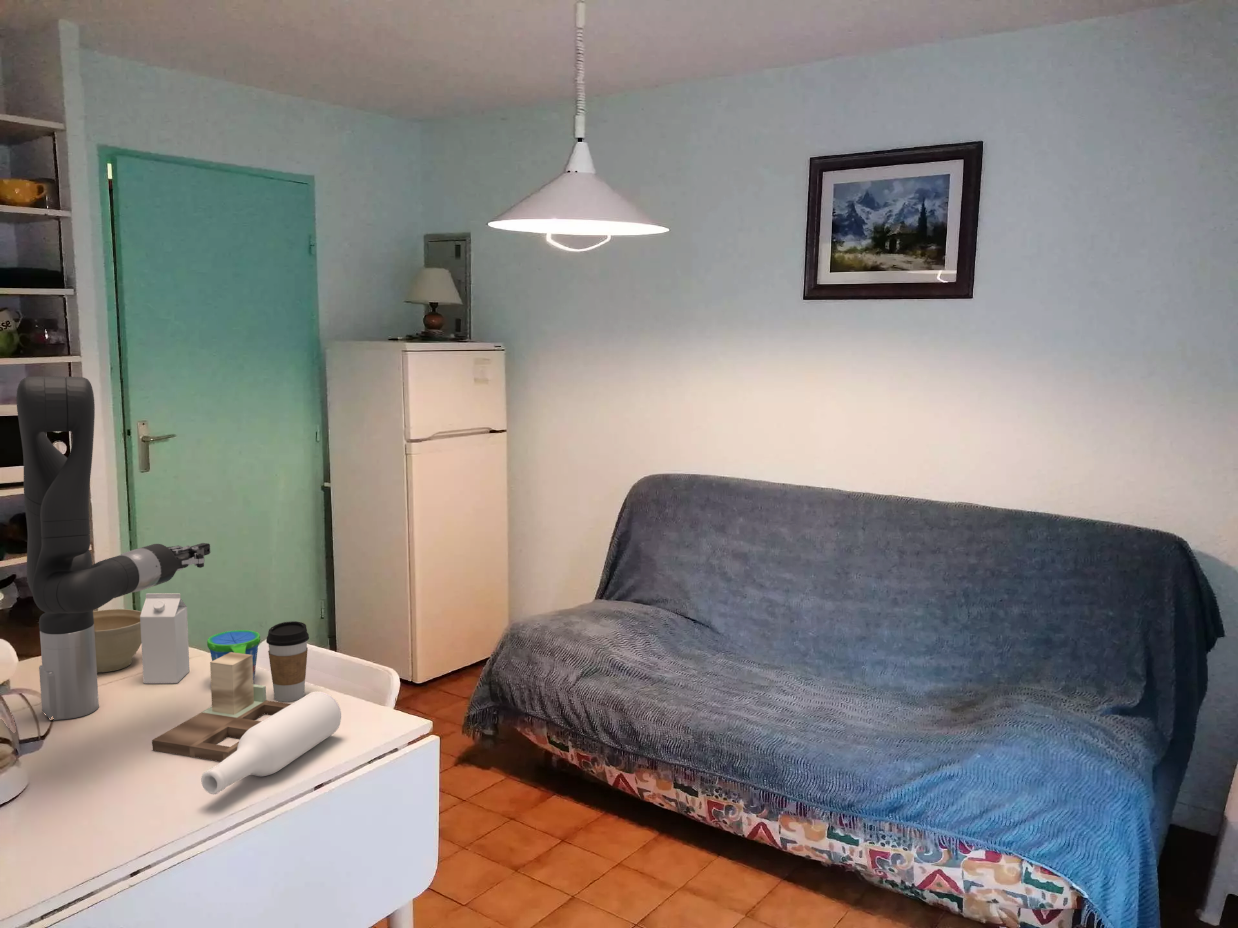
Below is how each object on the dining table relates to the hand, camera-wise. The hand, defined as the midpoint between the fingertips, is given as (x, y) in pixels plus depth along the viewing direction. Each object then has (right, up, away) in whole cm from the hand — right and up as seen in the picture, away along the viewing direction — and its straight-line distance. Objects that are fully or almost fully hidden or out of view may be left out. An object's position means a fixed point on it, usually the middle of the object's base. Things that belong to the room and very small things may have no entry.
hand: (206, 548), depth 188 cm
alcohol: (+27, -30, -11) cm, 42 cm away
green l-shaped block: (+7, -33, -3) cm, 34 cm away
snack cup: (0, -30, +14) cm, 34 cm away
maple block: (+7, -31, -4) cm, 32 cm away
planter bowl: (-32, -29, +22) cm, 48 cm away
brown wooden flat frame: (+9, -34, -10) cm, 37 cm away
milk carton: (-16, -30, +16) cm, 37 cm away
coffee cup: (+14, -32, +7) cm, 36 cm away
